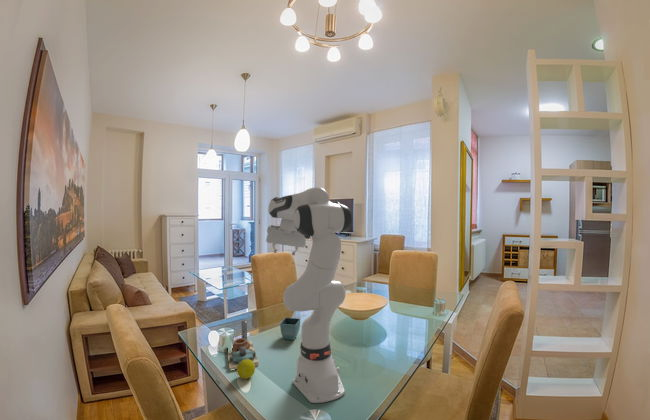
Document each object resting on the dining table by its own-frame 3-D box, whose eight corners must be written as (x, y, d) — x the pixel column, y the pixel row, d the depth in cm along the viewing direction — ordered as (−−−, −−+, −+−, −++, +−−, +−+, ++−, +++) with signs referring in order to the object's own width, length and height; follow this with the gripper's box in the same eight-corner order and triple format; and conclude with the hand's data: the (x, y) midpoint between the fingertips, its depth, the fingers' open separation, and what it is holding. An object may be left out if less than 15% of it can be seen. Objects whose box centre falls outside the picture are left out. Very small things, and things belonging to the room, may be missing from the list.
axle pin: (247, 341, 151) (247, 322, 151) (241, 342, 150) (241, 322, 150) (246, 339, 153) (246, 320, 153) (241, 339, 152) (241, 320, 152)
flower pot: (296, 342, 149) (295, 325, 149) (279, 341, 151) (279, 323, 151) (300, 335, 158) (300, 318, 158) (285, 333, 160) (285, 317, 159)
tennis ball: (243, 384, 114) (243, 366, 114) (233, 377, 119) (233, 360, 118) (258, 377, 119) (258, 360, 119) (248, 370, 124) (248, 354, 124)
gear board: (258, 365, 127) (258, 351, 127) (229, 371, 123) (229, 357, 123) (251, 343, 148) (251, 331, 148) (226, 348, 143) (226, 335, 143)
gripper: (267, 224, 147) (263, 251, 145) (307, 229, 150) (304, 256, 148) (268, 225, 154) (264, 251, 152) (306, 230, 156) (303, 256, 154)
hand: (284, 254), depth 150 cm, fingers open, 8 cm apart
